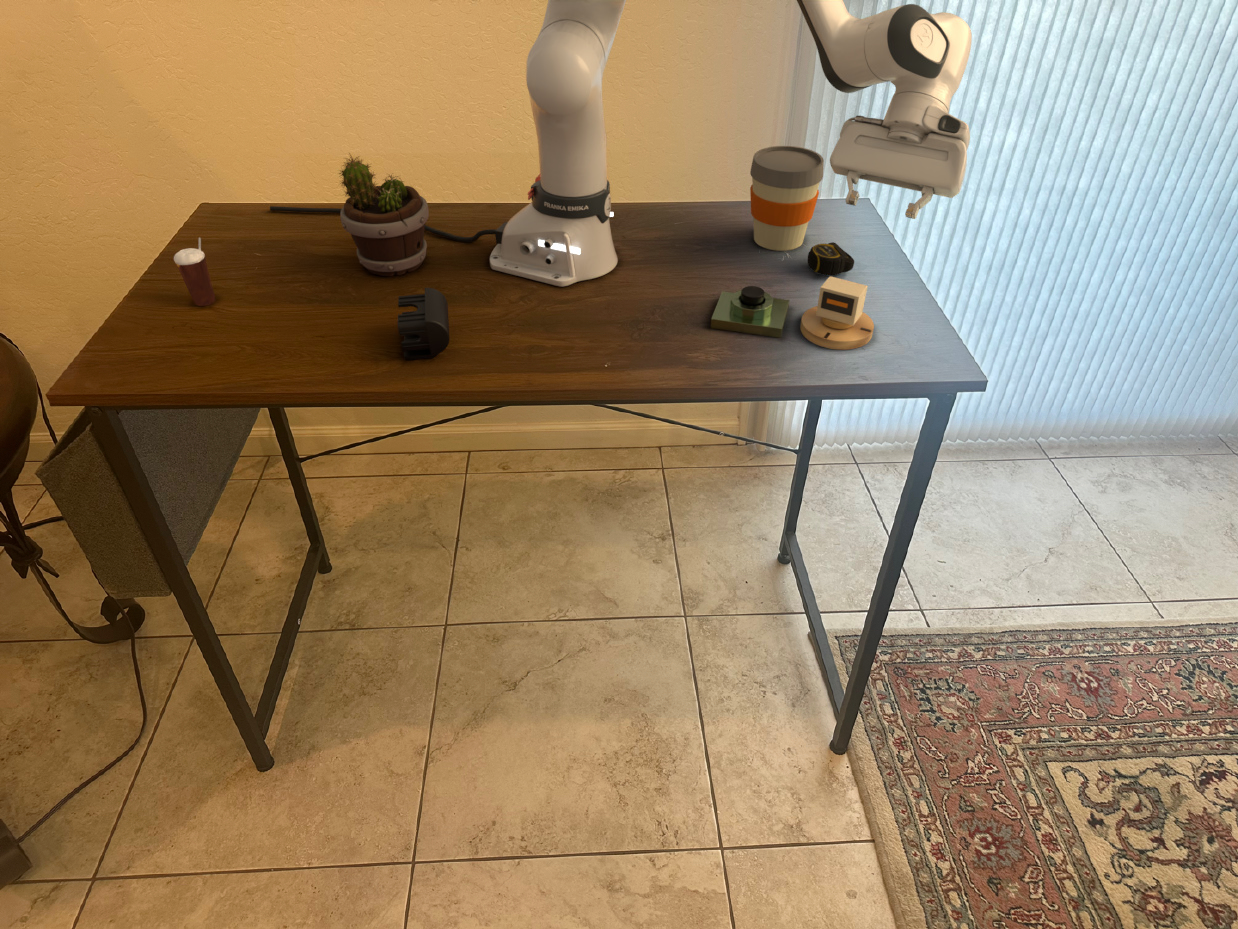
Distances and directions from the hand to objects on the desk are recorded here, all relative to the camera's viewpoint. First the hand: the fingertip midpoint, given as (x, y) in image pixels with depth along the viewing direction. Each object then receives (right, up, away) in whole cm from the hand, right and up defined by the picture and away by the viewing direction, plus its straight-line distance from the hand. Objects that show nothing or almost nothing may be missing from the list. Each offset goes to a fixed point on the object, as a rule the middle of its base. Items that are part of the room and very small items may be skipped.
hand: (879, 210), depth 132 cm
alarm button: (-19, -14, +3) cm, 24 cm away
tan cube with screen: (-6, -17, +1) cm, 18 cm away
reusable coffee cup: (-11, +2, +26) cm, 28 cm away
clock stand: (-6, -18, +2) cm, 19 cm away
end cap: (-69, -21, 0) cm, 72 cm away
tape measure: (-4, -5, +17) cm, 18 cm away
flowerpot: (-80, -4, +20) cm, 82 cm away
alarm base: (-19, -16, +5) cm, 25 cm away
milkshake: (-108, -12, +10) cm, 109 cm away
